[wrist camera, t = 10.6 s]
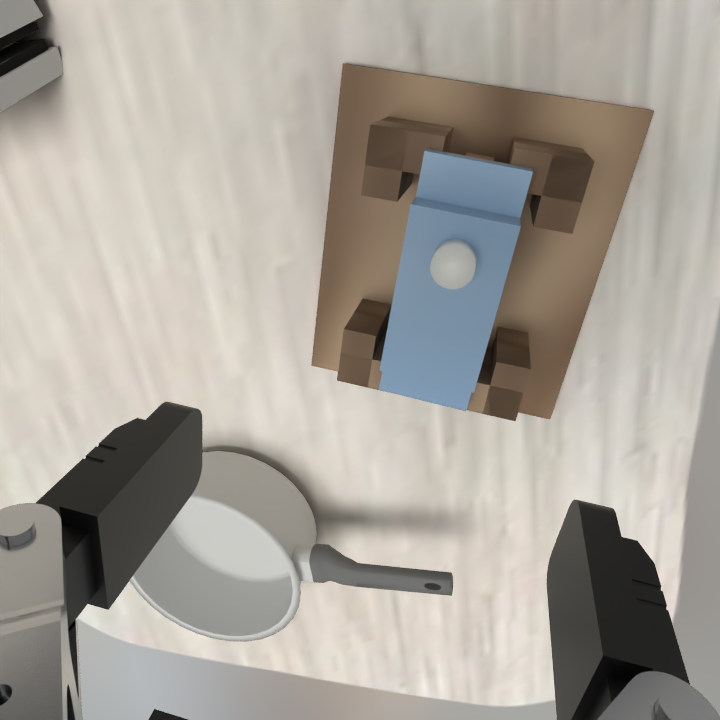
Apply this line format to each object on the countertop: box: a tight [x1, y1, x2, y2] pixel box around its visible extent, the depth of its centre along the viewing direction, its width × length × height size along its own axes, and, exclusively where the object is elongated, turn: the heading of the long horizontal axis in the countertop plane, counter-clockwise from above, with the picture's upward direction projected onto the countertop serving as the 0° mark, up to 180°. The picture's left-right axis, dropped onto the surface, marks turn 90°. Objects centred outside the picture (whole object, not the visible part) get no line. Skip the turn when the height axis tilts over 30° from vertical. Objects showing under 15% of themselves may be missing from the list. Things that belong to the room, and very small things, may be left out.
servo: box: [379, 149, 533, 411], centre depth 25 cm, size 4×10×7 cm, turn 172°
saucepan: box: [130, 451, 453, 641], centre depth 36 cm, size 12×20×6 cm, turn 99°
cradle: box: [312, 64, 654, 421], centre depth 27 cm, size 13×15×4 cm
